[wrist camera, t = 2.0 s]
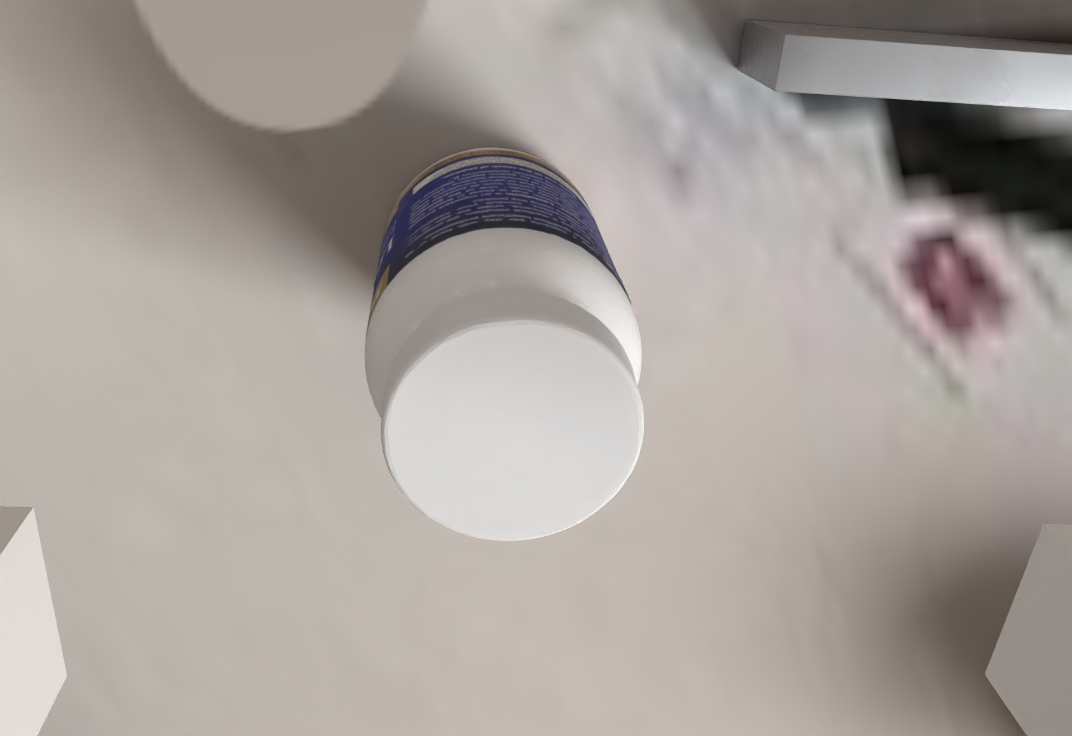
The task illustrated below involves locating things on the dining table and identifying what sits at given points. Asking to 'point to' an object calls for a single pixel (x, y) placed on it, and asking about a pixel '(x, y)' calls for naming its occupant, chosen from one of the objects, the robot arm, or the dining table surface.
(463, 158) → the pill bottle
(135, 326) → the dining table surface
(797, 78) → the rail cradle
